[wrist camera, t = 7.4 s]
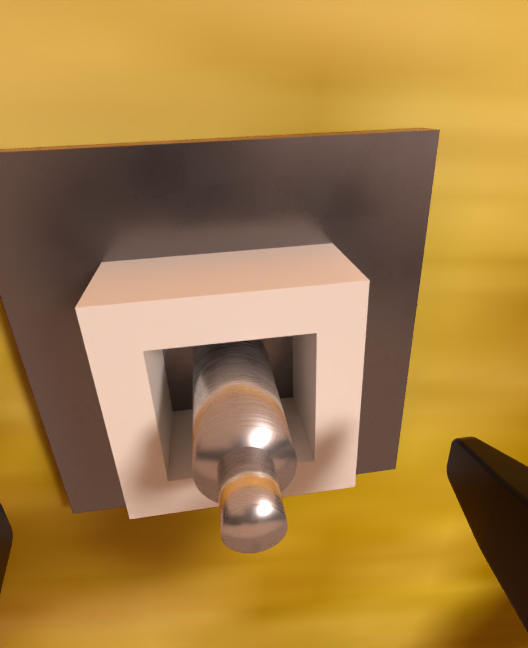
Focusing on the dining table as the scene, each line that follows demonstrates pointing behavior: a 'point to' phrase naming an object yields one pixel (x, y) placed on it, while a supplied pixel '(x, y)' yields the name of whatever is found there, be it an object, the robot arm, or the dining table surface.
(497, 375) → the dining table surface
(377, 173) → the grey base with post
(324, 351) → the collar
